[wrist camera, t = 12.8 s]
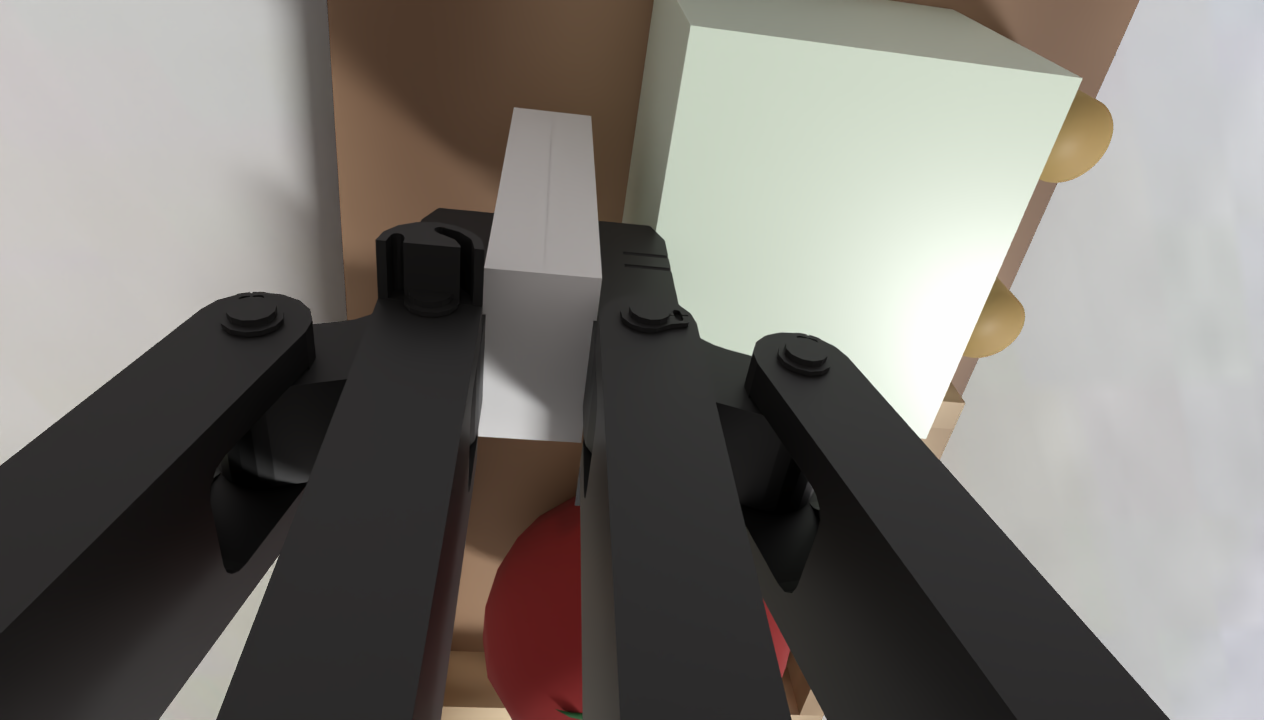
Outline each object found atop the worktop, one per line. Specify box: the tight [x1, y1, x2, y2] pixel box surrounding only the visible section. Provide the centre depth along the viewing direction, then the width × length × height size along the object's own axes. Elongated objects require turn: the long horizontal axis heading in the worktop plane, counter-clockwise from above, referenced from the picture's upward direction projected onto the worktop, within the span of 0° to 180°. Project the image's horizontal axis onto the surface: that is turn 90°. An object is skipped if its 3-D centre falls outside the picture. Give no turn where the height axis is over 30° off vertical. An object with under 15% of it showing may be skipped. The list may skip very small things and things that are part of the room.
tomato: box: [483, 496, 790, 720], centre depth 21 cm, size 8×8×7 cm
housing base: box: [327, 0, 1139, 720], centre depth 21 cm, size 16×24×4 cm, turn 172°
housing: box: [622, 0, 1083, 439], centre depth 16 cm, size 6×7×5 cm
